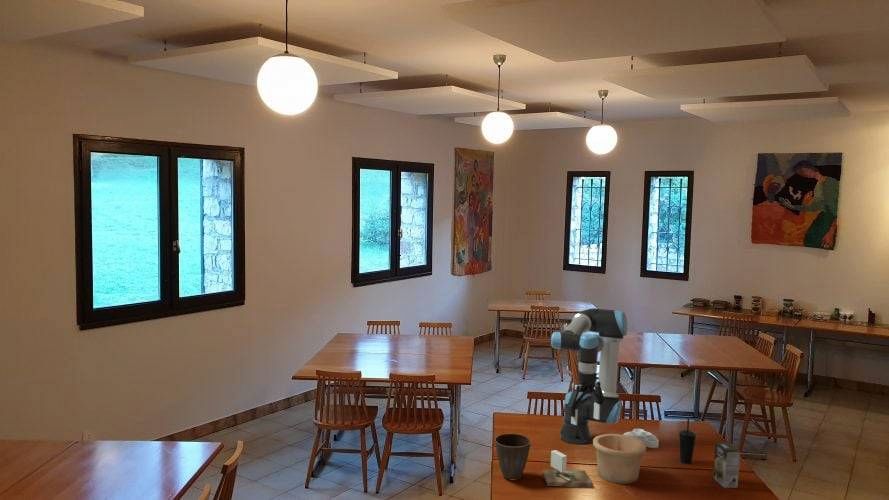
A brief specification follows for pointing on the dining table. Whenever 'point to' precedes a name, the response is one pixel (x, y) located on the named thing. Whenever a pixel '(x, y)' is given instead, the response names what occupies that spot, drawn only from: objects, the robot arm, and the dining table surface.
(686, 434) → the drinking cup
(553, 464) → the white slab
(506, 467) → the plant pot
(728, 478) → the coffee box
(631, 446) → the pottery
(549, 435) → the dining table surface
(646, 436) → the knuckle duster
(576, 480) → the brown flat rectangular block
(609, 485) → the dining table surface
